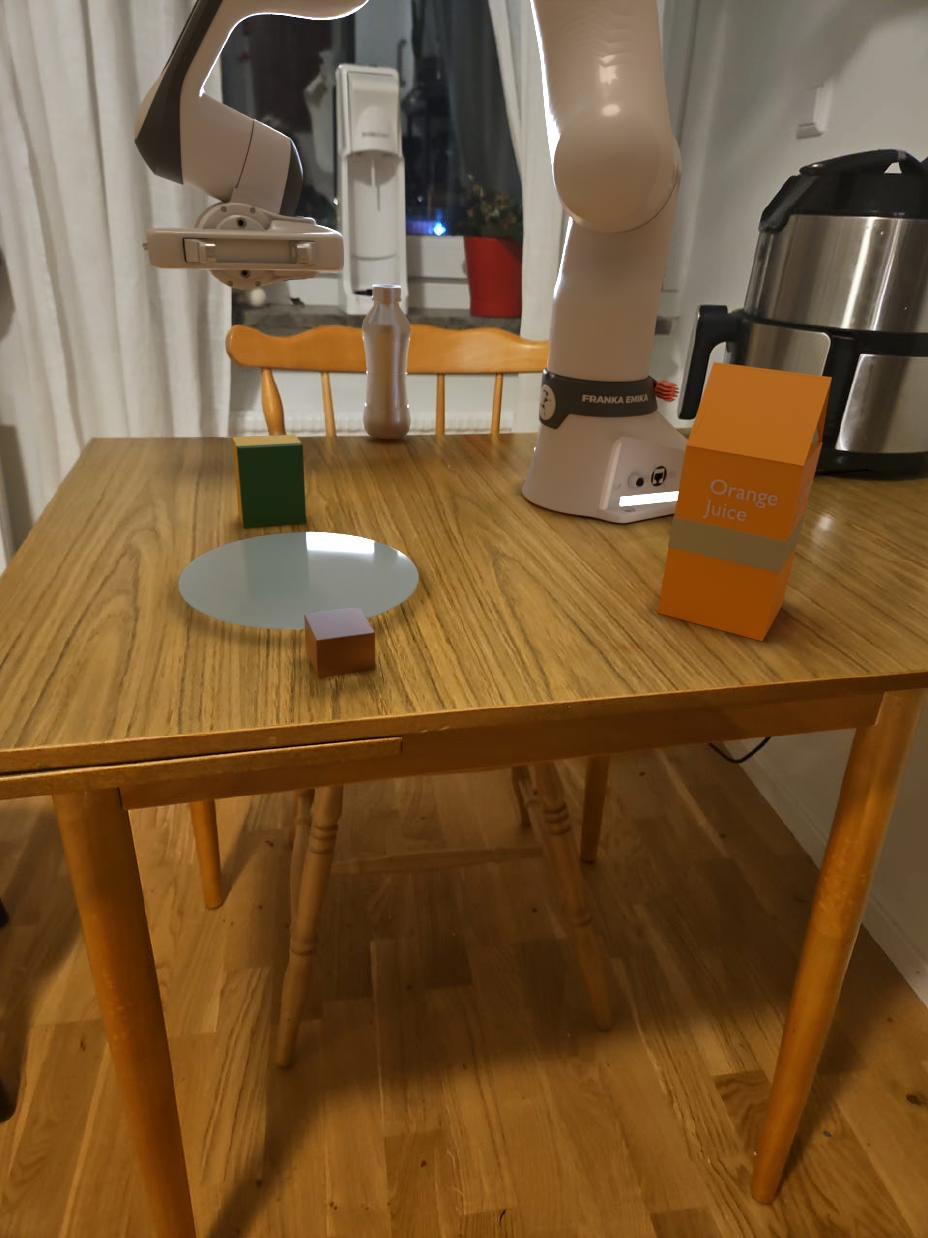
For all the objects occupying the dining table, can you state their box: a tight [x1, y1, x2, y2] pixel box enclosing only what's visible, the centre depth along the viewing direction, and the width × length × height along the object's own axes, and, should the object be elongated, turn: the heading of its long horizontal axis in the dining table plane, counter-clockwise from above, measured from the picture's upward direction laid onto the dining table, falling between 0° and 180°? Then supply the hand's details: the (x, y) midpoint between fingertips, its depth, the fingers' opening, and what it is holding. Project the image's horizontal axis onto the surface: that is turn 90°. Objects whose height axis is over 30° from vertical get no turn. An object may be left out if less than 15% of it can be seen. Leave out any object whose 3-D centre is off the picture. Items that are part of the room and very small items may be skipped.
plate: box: [177, 531, 420, 631], centre depth 69 cm, size 20×20×1 cm
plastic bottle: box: [361, 284, 412, 441], centre depth 110 cm, size 6×7×20 cm
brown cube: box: [304, 608, 376, 679], centre depth 56 cm, size 4×4×4 cm
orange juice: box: [656, 361, 833, 642], centre depth 65 cm, size 8×9×20 cm
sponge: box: [231, 434, 307, 530], centre depth 79 cm, size 6×4×9 cm, turn 111°
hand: (257, 254), depth 80 cm, fingers open, 8 cm apart
